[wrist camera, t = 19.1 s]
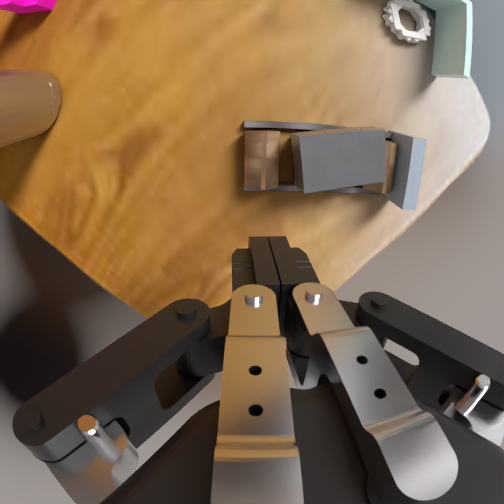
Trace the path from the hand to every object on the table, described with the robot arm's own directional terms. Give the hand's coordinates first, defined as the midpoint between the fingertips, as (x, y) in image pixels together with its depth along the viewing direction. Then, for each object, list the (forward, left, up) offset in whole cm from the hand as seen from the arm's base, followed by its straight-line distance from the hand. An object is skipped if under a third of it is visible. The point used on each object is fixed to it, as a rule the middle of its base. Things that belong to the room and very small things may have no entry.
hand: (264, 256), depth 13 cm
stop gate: (+20, 0, -25) cm, 32 cm away
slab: (+10, +1, -22) cm, 24 cm away
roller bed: (+9, 0, -25) cm, 27 cm away
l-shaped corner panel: (+22, +20, -26) cm, 39 cm away
